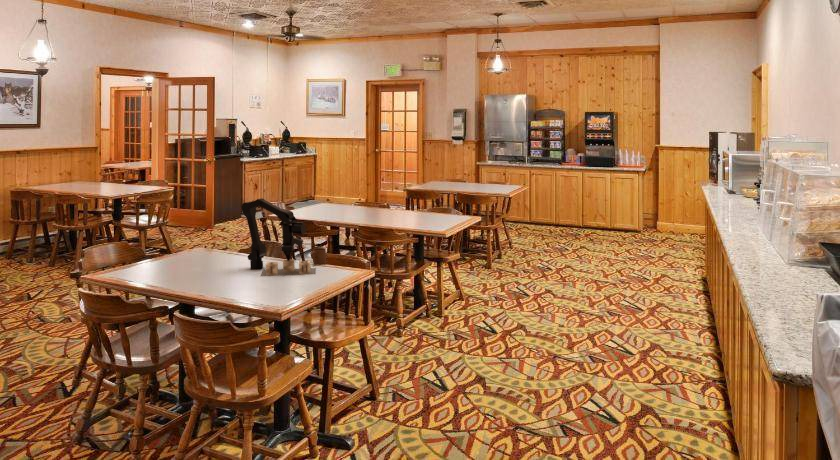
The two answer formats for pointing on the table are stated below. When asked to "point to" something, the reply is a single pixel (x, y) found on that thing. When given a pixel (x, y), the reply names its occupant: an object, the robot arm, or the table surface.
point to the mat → (296, 272)
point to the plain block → (288, 265)
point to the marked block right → (304, 267)
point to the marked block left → (271, 268)
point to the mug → (319, 256)
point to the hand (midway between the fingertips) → (288, 260)
